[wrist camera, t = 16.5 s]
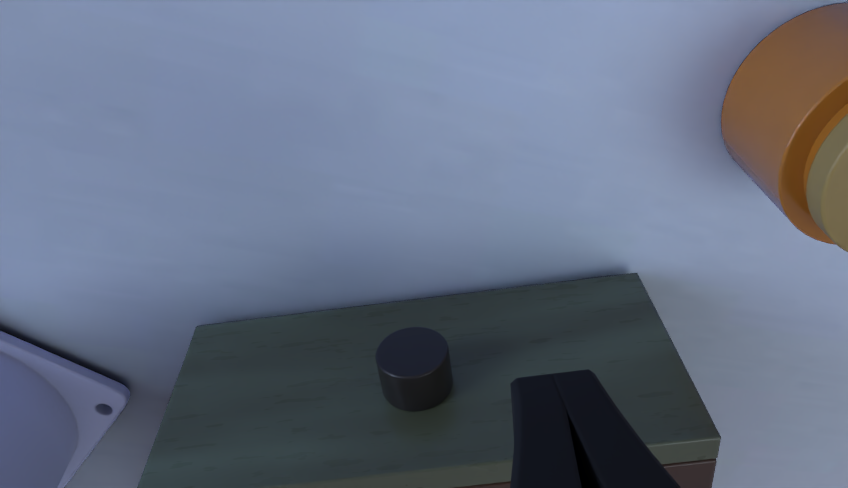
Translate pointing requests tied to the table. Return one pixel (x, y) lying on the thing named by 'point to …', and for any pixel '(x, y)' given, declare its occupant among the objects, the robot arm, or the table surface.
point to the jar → (796, 121)
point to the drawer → (415, 388)
